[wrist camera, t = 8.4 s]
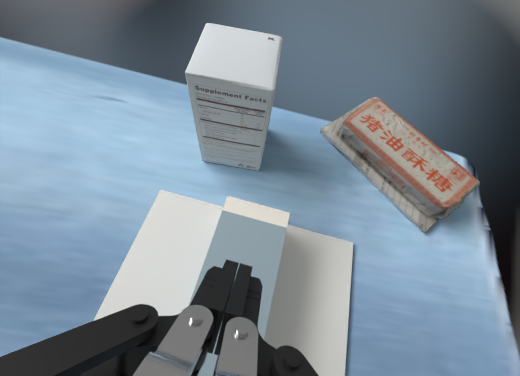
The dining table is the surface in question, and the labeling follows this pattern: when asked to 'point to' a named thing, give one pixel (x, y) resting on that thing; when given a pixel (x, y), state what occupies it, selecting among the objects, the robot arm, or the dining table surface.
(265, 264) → the block
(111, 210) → the dining table surface
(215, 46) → the supplement box
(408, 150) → the packaged product
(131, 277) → the mat
